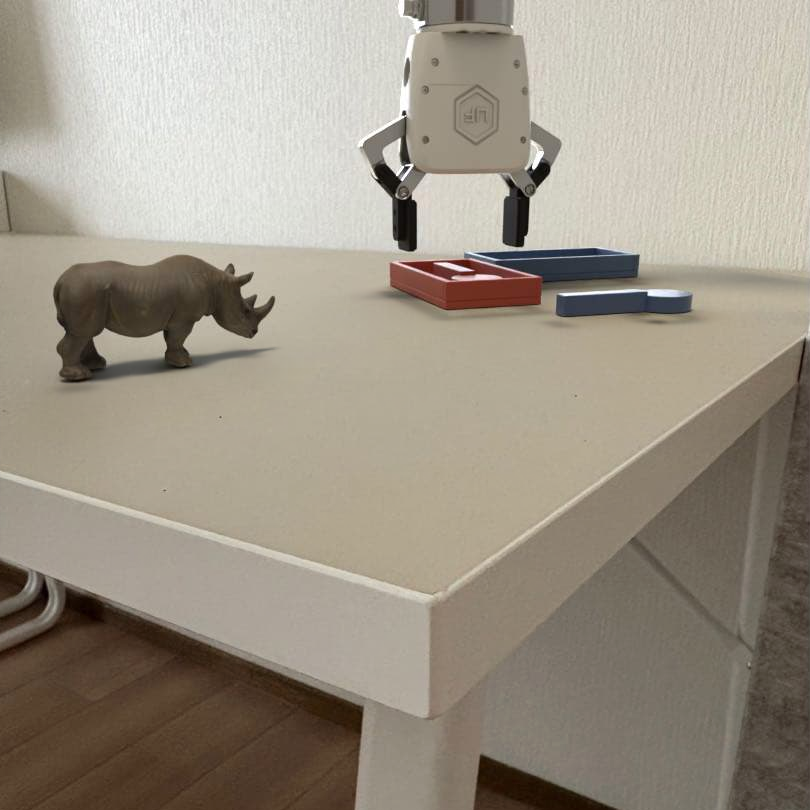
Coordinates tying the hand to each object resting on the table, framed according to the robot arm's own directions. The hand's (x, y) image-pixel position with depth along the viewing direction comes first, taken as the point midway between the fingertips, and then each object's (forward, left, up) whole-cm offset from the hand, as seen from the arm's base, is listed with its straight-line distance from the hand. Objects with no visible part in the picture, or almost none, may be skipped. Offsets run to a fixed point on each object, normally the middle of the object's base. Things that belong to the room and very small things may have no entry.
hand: (461, 248), depth 75 cm
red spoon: (0, 0, -3) cm, 3 cm away
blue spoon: (-8, +13, -4) cm, 16 cm away
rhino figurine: (+26, +20, -4) cm, 33 cm away
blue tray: (-13, -9, -4) cm, 16 cm away
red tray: (0, 0, -4) cm, 4 cm away
